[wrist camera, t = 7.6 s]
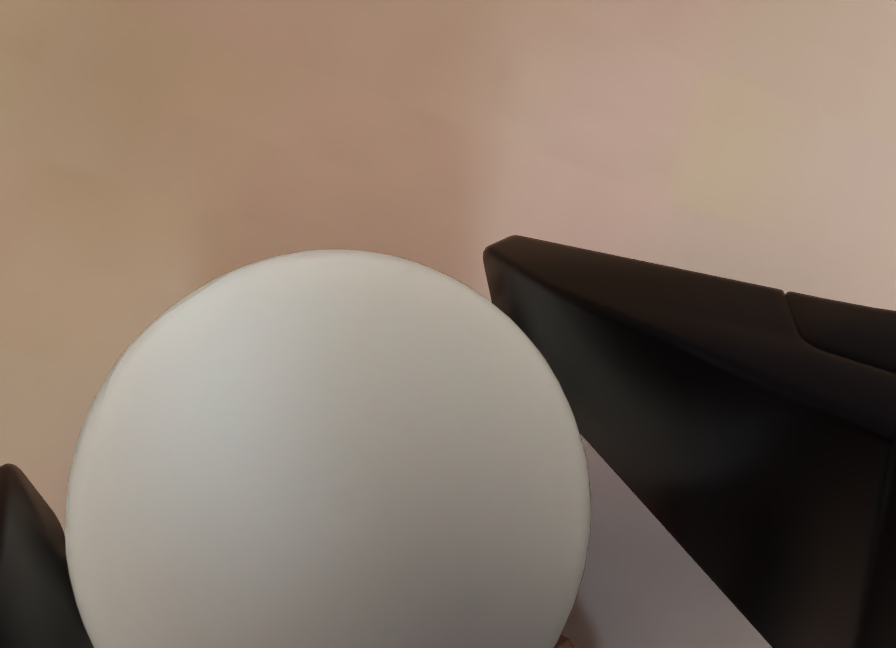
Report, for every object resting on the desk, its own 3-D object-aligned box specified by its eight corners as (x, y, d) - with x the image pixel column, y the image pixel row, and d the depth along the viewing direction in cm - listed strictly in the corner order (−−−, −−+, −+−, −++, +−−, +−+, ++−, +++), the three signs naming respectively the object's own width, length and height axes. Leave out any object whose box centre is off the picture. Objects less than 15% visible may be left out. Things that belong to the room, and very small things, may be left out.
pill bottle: (134, 618, 15) (-163, 847, 5) (205, 322, 16) (64, 82, 7) (434, 664, 16) (641, 941, 6) (483, 378, 17) (718, 234, 7)
